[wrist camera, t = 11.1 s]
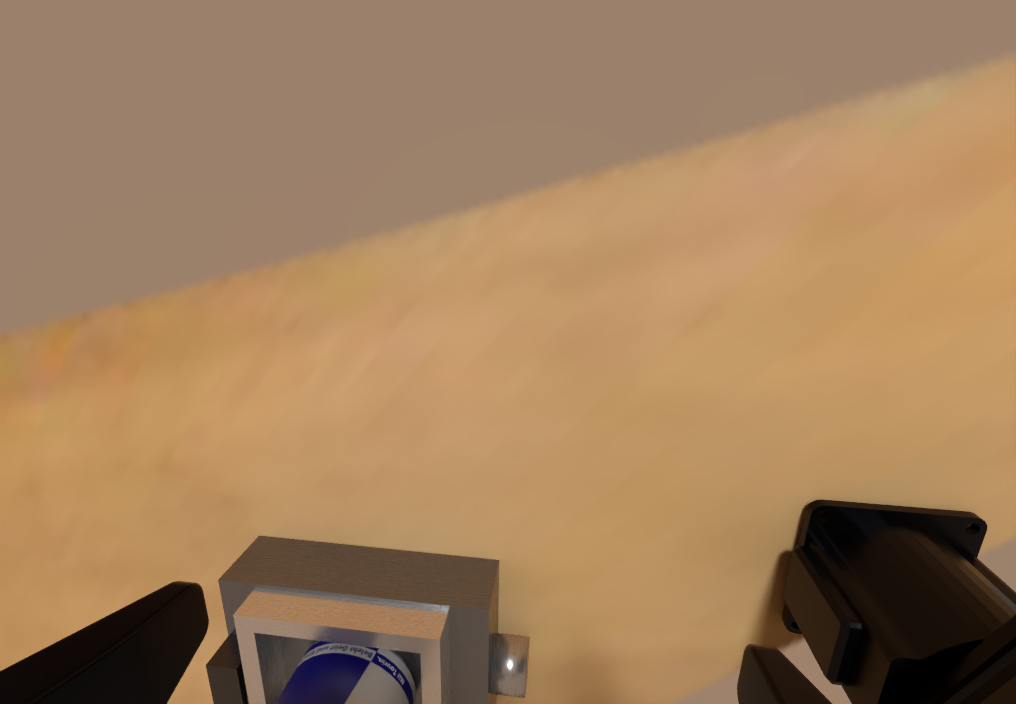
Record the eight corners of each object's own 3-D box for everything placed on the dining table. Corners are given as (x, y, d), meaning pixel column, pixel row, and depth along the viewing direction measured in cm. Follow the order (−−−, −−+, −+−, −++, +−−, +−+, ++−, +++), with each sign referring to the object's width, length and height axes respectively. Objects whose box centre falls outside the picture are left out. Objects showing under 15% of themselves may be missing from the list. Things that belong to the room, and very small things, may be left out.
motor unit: (532, 563, 23) (524, 648, 19) (526, 707, 26) (517, 810, 22) (259, 535, 25) (192, 608, 20) (279, 674, 27) (224, 764, 23)
